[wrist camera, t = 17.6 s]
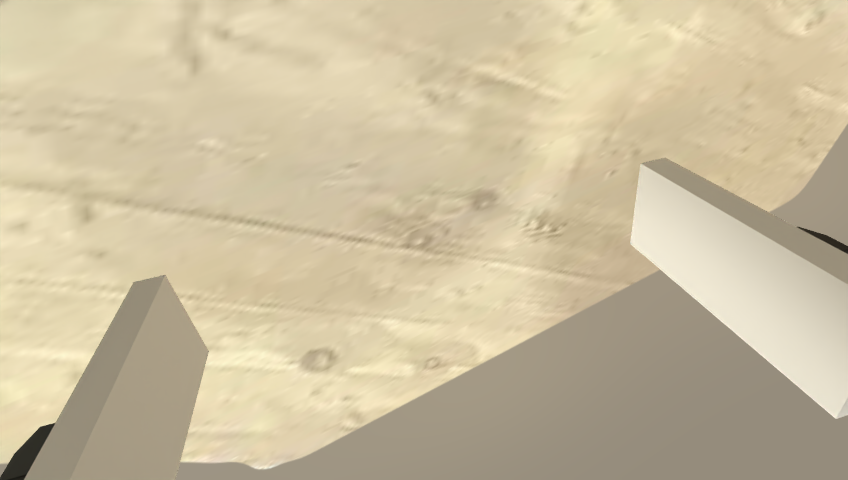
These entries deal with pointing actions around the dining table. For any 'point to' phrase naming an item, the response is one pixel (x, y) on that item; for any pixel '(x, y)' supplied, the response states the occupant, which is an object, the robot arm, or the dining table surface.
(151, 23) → the dining table surface
